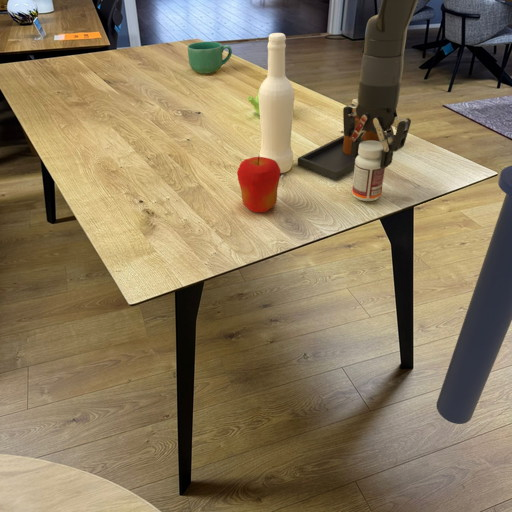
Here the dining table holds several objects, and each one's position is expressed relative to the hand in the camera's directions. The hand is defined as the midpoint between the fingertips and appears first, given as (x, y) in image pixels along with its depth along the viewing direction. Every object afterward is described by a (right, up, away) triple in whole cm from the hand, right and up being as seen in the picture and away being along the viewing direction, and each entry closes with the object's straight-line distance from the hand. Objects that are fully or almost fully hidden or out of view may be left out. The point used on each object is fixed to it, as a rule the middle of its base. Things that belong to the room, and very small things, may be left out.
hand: (370, 161), depth 98 cm
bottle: (-19, +2, +18) cm, 26 cm away
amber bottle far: (+7, +11, +27) cm, 30 cm away
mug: (-40, +51, +85) cm, 107 cm away
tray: (+1, +6, +23) cm, 24 cm away
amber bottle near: (+1, +7, +23) cm, 24 cm away
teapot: (-19, +23, +46) cm, 55 cm away
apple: (-23, -9, +3) cm, 25 cm away
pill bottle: (0, -6, +5) cm, 8 cm away
